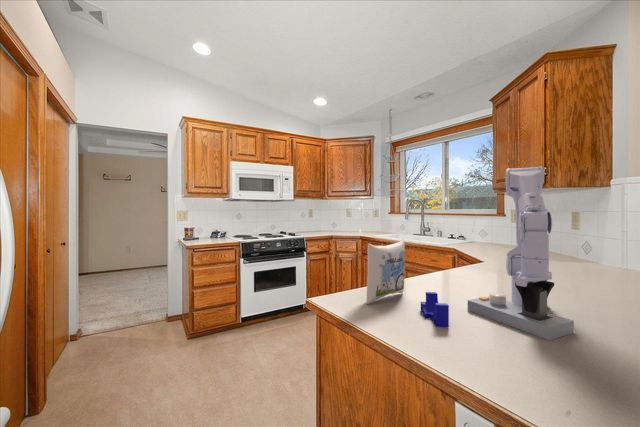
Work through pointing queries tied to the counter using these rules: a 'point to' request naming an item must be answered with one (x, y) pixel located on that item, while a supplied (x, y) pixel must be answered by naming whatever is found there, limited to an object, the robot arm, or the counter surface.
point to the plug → (538, 308)
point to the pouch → (385, 270)
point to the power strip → (520, 317)
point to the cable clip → (435, 310)
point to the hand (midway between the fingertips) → (534, 310)
